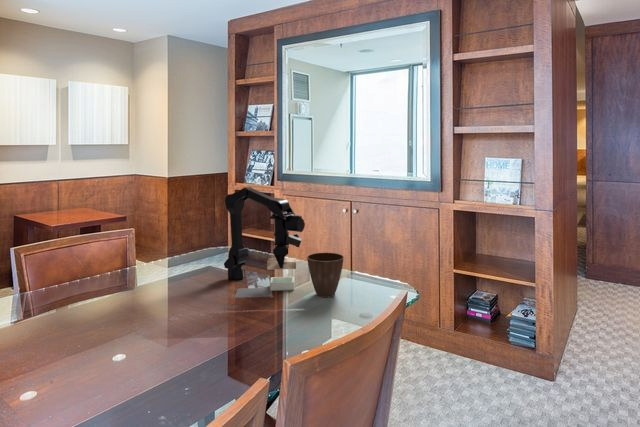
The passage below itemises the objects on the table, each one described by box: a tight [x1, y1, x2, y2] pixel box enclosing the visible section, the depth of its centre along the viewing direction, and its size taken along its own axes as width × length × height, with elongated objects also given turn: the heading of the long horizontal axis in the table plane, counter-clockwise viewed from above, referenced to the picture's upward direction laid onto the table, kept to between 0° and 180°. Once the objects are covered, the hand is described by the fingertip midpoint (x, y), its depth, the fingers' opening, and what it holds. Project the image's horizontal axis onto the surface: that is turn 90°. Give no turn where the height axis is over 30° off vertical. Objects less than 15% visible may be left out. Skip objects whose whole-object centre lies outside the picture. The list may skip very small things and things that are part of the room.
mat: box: [233, 287, 271, 299], centre depth 197 cm, size 14×12×1 cm
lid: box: [266, 257, 297, 271], centre depth 202 cm, size 12×7×4 cm, turn 93°
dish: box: [269, 276, 295, 292], centre depth 204 cm, size 10×8×4 cm
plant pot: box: [306, 252, 344, 298], centre depth 195 cm, size 15×15×16 cm
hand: (281, 265), depth 202 cm, fingers closed on lid, 7 cm apart
